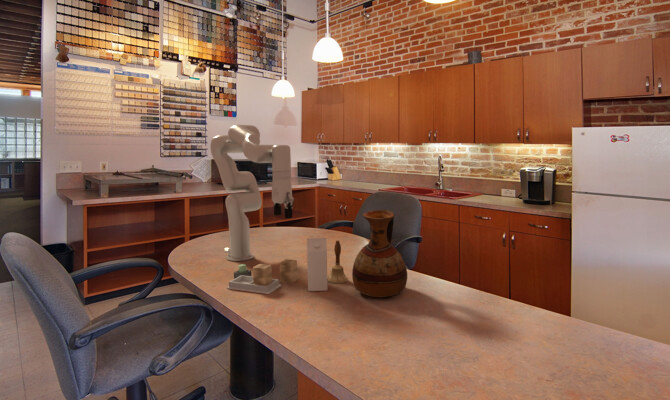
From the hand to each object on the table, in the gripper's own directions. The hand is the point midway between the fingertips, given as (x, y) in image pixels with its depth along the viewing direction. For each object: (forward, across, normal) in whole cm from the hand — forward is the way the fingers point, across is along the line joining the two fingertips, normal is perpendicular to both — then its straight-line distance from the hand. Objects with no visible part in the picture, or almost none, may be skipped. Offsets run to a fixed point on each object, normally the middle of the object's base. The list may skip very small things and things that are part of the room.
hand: (283, 216), depth 164 cm
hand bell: (+24, +21, +12) cm, 35 cm away
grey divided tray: (+24, +9, -18) cm, 31 cm away
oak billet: (+24, +10, -4) cm, 27 cm away
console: (+24, -3, -17) cm, 30 cm away
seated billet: (+24, +12, -16) cm, 31 cm away
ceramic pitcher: (+24, +41, +17) cm, 51 cm away
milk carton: (+24, +24, +1) cm, 34 cm away
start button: (+22, -3, -17) cm, 29 cm away
